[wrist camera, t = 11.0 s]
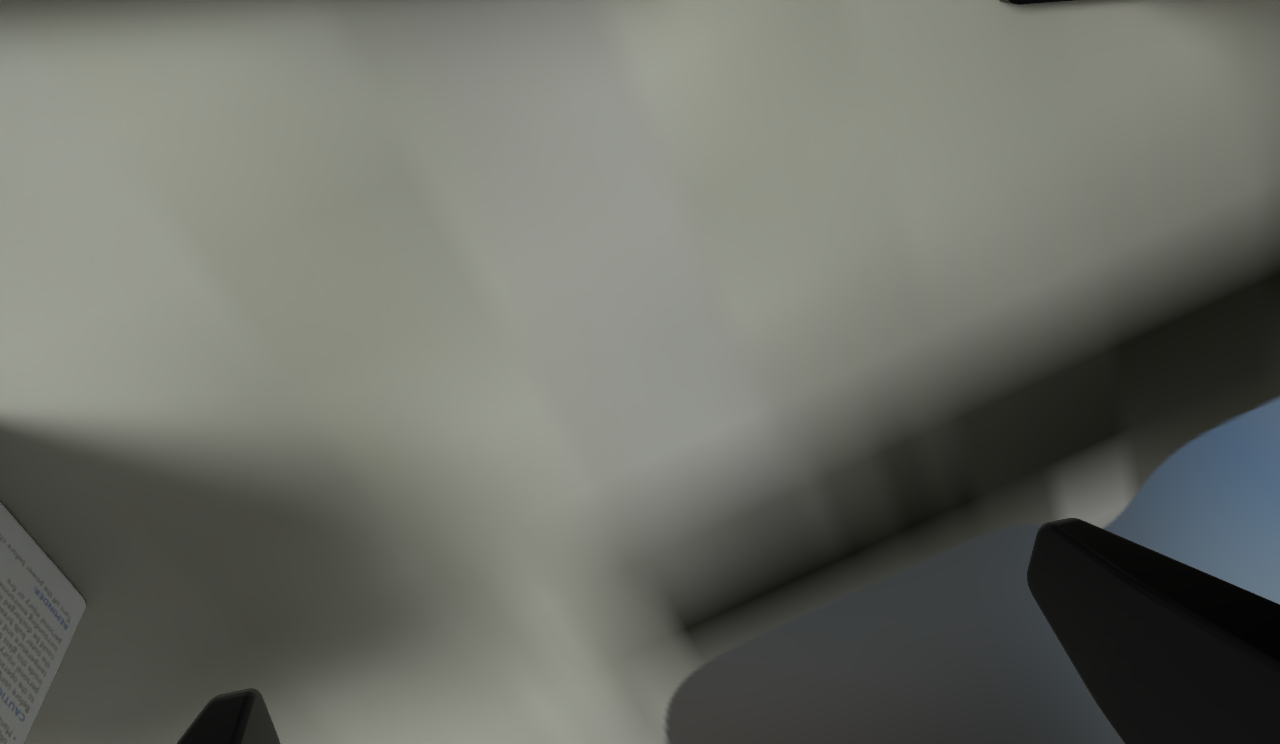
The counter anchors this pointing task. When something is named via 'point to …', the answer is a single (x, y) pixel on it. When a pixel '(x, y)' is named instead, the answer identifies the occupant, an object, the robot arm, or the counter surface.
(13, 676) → the light bulb box
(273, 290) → the counter surface
